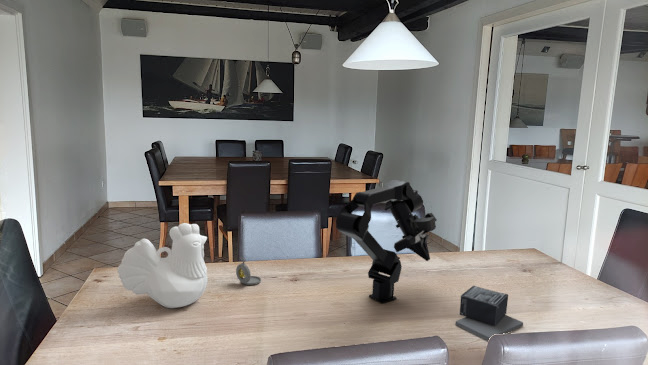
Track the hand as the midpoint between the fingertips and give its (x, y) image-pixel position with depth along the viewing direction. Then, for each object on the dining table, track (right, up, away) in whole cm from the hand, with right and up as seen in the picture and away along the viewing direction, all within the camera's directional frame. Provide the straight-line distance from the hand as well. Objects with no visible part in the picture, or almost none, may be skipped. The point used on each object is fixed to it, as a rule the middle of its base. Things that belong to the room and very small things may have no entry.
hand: (428, 260), depth 139 cm
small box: (+9, -10, -8) cm, 16 cm away
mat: (+14, -16, -15) cm, 26 cm away
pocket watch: (-59, -10, +11) cm, 61 cm away
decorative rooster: (-82, -12, -6) cm, 83 cm away
